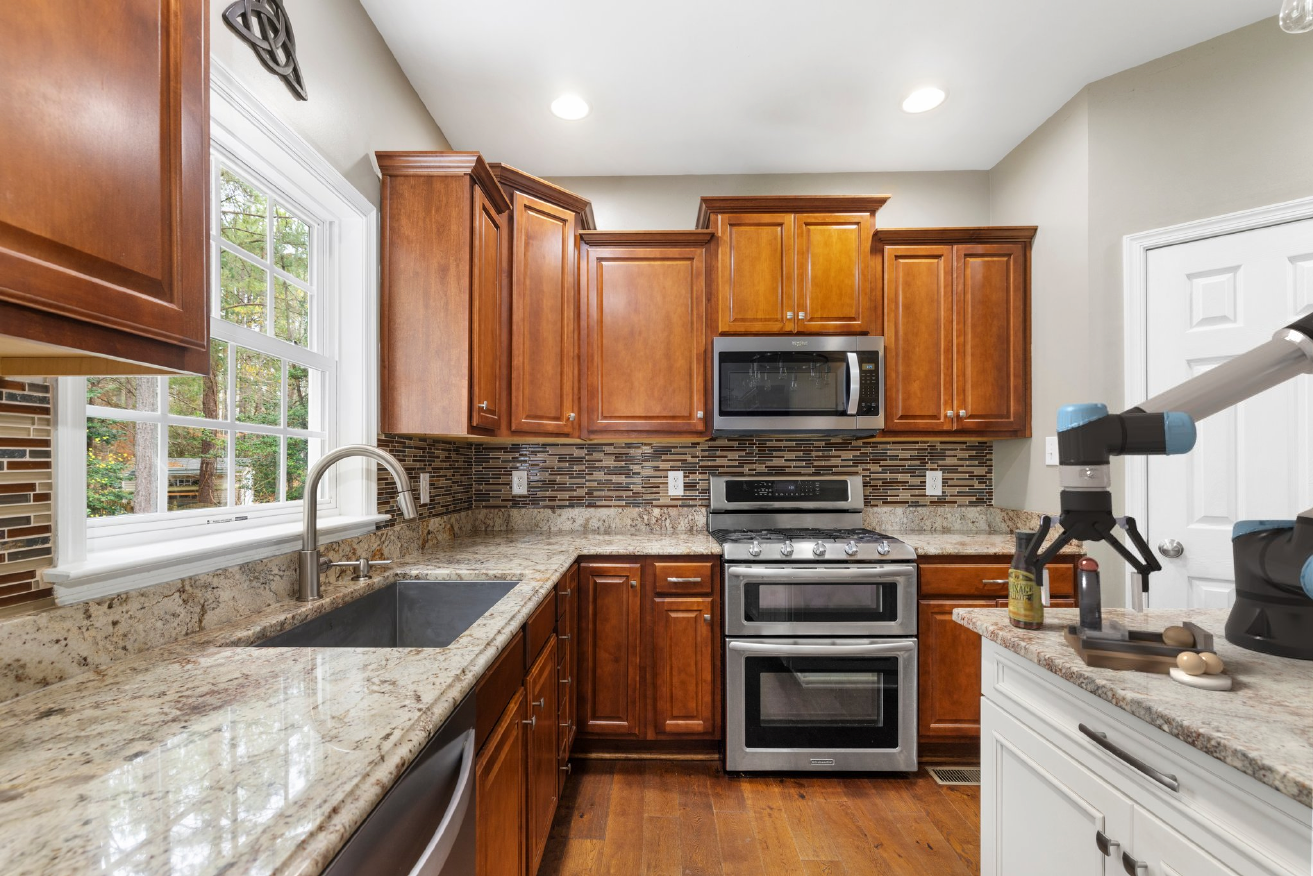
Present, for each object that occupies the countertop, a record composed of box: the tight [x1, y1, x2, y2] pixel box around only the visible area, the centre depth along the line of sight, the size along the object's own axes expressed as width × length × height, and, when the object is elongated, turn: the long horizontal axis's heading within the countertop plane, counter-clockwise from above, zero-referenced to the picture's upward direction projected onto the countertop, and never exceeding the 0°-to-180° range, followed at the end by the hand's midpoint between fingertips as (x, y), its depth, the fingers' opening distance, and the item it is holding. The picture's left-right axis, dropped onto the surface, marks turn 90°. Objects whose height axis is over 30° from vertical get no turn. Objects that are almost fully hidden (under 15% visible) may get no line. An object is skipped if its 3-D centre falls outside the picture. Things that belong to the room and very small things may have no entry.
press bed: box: [1063, 620, 1228, 676], centre depth 102 cm, size 18×16×6 cm
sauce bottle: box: [1007, 529, 1045, 630], centre depth 121 cm, size 7×6×20 cm
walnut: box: [1162, 625, 1194, 648], centre depth 99 cm, size 4×4×4 cm
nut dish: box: [1169, 652, 1233, 692], centre depth 90 cm, size 7×7×5 cm
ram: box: [1075, 556, 1129, 642], centre depth 104 cm, size 6×6×15 cm
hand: (1090, 607), depth 104 cm, fingers open, 13 cm apart
